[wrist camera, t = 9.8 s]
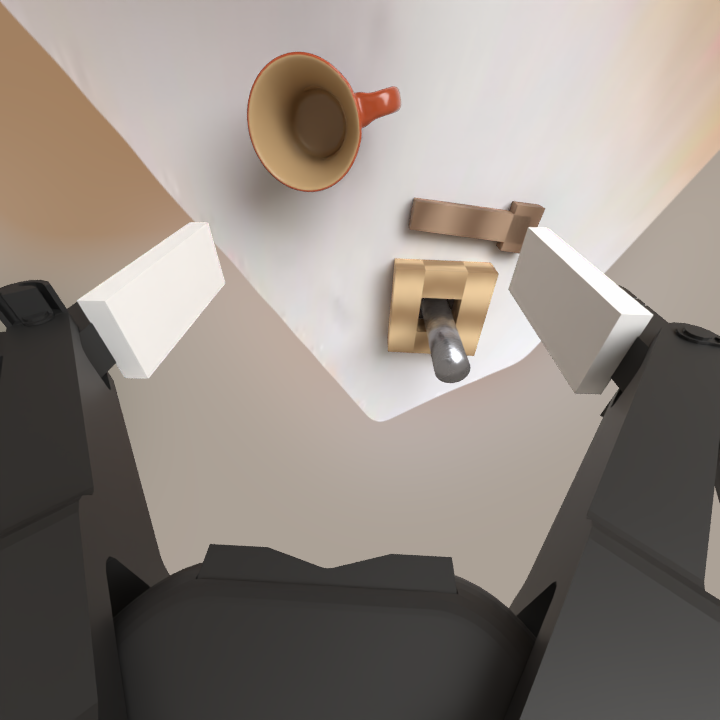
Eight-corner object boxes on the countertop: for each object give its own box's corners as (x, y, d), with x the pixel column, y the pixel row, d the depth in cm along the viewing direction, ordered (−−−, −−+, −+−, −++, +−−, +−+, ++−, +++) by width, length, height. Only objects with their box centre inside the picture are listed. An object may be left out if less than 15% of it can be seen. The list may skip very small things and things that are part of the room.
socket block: (394, 258, 41) (395, 269, 39) (490, 262, 41) (498, 273, 38) (387, 337, 49) (387, 351, 46) (468, 341, 48) (474, 355, 46)
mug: (298, 182, 37) (274, 204, 29) (265, 83, 32) (225, 75, 23) (404, 151, 34) (412, 165, 26) (387, 39, 29) (390, 13, 21)
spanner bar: (406, 233, 40) (407, 238, 38) (415, 187, 37) (417, 191, 35) (519, 248, 40) (525, 253, 38) (538, 204, 37) (545, 208, 35)
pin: (423, 292, 44) (438, 354, 33) (450, 294, 44) (474, 357, 33) (419, 315, 46) (431, 381, 35) (444, 317, 46) (465, 384, 35)
